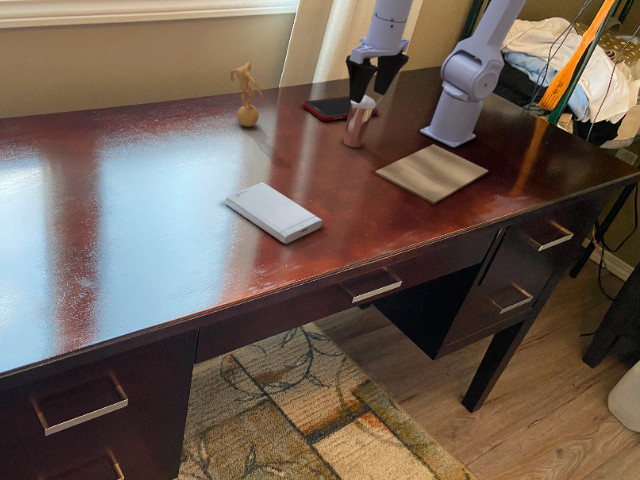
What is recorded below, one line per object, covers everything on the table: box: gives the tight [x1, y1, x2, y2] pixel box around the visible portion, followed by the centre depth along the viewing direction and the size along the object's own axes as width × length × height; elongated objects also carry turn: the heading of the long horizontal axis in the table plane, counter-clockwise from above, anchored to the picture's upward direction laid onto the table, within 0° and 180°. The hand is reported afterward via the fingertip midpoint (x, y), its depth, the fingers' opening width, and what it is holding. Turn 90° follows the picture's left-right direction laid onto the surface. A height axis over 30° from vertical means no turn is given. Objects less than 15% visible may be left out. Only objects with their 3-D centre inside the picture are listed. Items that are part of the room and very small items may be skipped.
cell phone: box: [302, 95, 379, 122], centre depth 125 cm, size 8×15×1 cm, turn 121°
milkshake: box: [343, 94, 384, 149], centre depth 111 cm, size 5×5×10 cm
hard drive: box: [224, 181, 323, 245], centre depth 91 cm, size 2×8×12 cm
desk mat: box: [374, 143, 489, 205], centre depth 110 cm, size 20×12×1 cm, turn 136°
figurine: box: [230, 62, 264, 128], centre depth 110 cm, size 8×6×12 cm
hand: (367, 97), depth 109 cm, fingers open, 7 cm apart
